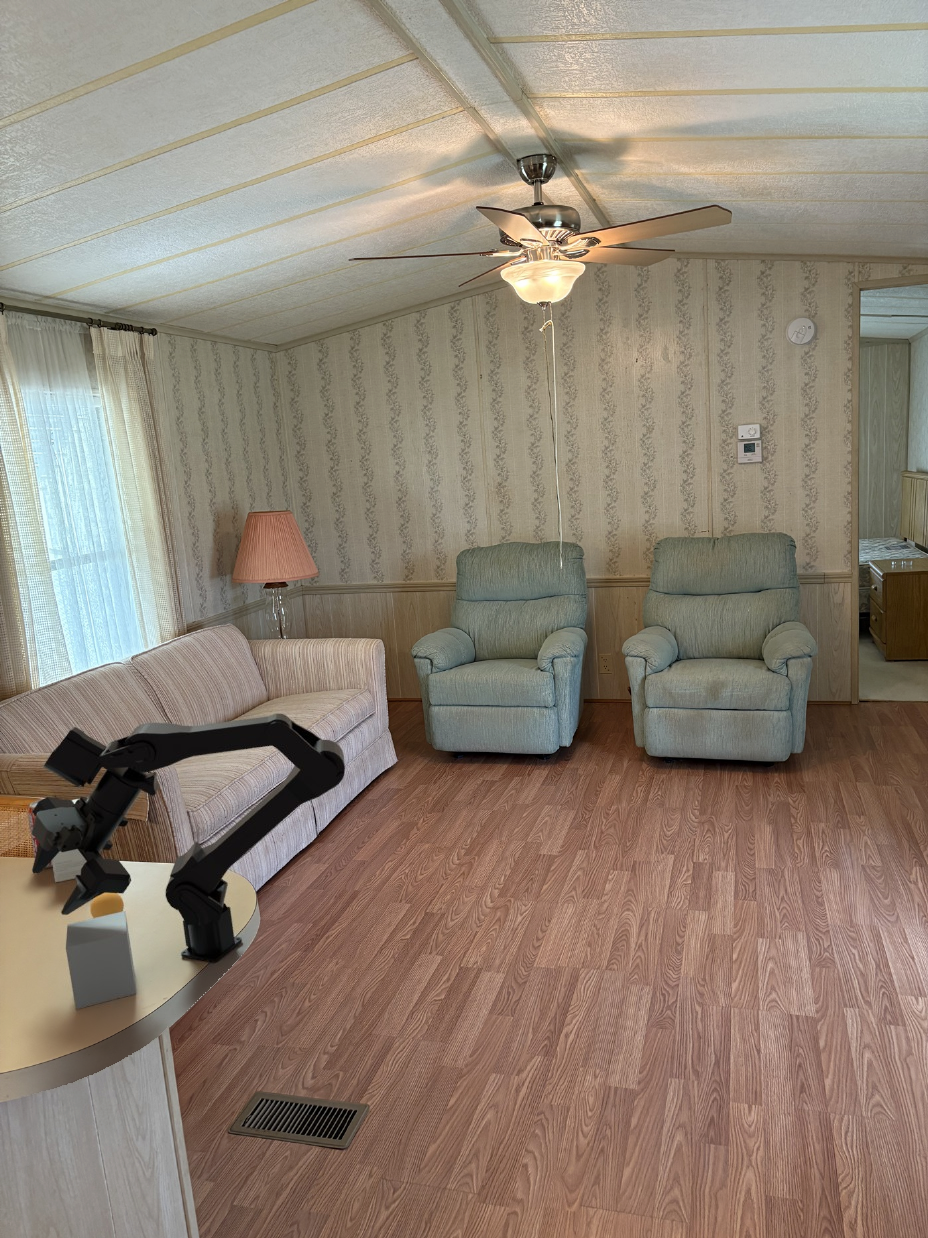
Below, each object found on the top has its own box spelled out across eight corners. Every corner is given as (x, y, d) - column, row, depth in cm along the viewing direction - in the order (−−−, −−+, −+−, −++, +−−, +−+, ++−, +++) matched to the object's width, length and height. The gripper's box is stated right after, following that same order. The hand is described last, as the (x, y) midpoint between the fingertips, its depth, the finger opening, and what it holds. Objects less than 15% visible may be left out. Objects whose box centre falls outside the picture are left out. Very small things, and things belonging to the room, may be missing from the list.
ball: (132, 916, 154) (128, 887, 154) (109, 931, 150) (105, 901, 149) (109, 913, 156) (104, 884, 156) (86, 927, 152) (81, 898, 151)
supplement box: (98, 874, 173) (87, 808, 171) (54, 883, 171) (43, 816, 169) (99, 860, 180) (89, 796, 178) (57, 868, 177) (46, 803, 175)
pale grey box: (134, 968, 137) (125, 911, 136) (136, 994, 130) (126, 933, 129) (76, 982, 135) (67, 924, 133) (75, 1009, 128) (65, 948, 126)
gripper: (32, 757, 134) (-29, 848, 134) (95, 838, 124) (30, 936, 124) (95, 768, 143) (38, 854, 144) (158, 845, 133) (97, 936, 134)
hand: (49, 893), depth 136 cm, fingers open, 9 cm apart
